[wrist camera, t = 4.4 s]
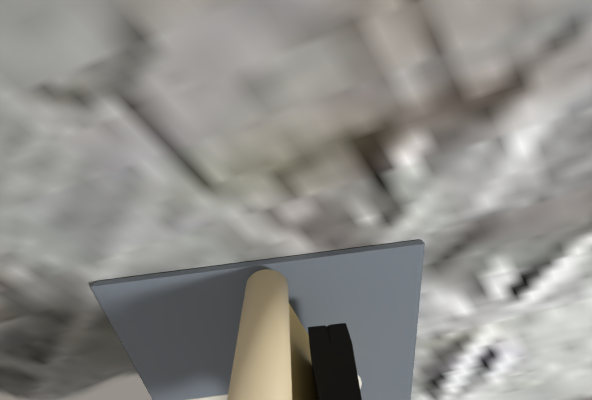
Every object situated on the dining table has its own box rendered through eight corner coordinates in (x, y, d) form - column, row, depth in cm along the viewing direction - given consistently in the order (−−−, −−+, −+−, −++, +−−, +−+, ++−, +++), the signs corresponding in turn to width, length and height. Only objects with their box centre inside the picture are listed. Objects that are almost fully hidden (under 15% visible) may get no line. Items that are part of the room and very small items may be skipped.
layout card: (403, 443, 17) (406, 449, 17) (196, 469, 17) (194, 476, 17) (421, 239, 11) (425, 244, 11) (95, 281, 11) (90, 287, 11)
